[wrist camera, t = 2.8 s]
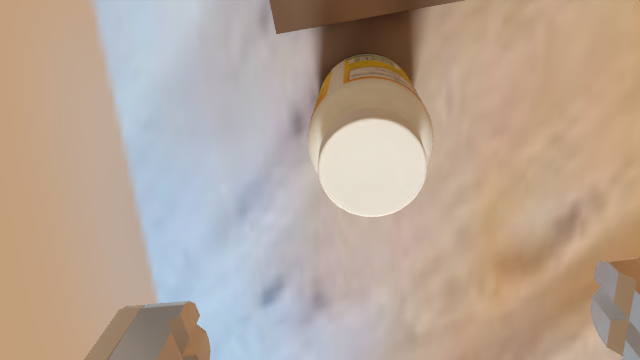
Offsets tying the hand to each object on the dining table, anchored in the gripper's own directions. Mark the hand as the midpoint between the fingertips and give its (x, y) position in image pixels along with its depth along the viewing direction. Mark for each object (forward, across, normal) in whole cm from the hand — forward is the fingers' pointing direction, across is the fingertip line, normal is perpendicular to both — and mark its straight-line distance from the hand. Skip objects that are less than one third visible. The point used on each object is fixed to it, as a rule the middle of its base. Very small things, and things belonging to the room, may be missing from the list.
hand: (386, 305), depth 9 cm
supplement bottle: (+17, 0, 0) cm, 17 cm away
